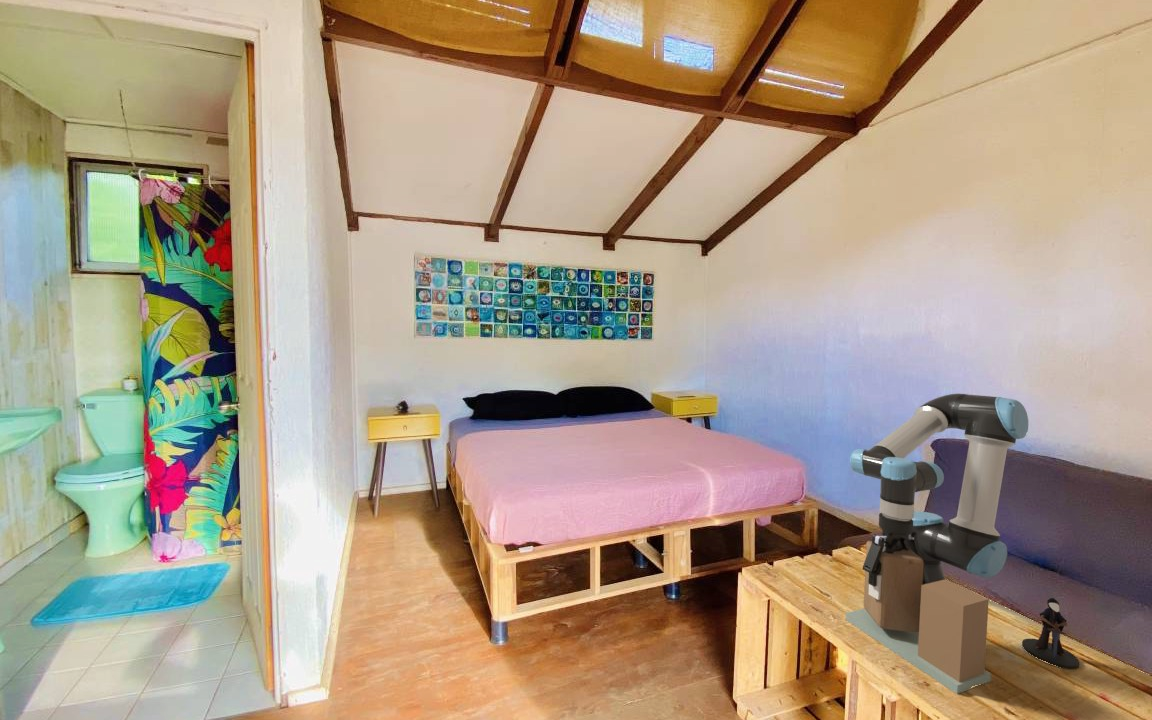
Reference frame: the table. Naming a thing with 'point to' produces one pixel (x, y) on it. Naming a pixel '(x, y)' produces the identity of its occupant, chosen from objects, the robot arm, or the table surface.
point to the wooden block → (897, 591)
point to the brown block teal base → (940, 635)
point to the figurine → (1053, 650)
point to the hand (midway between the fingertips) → (892, 592)
